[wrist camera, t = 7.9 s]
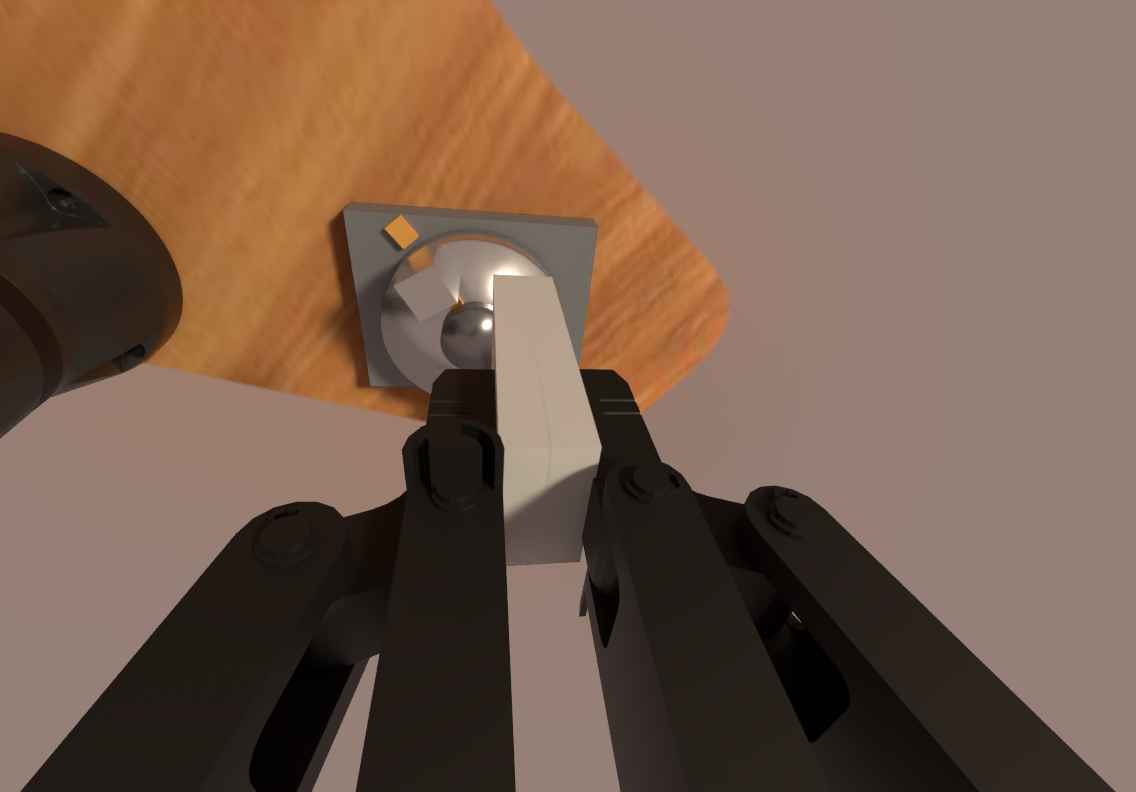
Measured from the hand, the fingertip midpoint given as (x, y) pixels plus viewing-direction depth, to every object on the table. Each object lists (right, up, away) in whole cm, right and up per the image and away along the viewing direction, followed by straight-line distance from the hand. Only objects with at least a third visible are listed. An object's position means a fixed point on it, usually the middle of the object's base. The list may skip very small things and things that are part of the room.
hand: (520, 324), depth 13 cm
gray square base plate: (-6, +5, +23) cm, 24 cm away
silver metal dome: (-5, +4, +21) cm, 22 cm away
